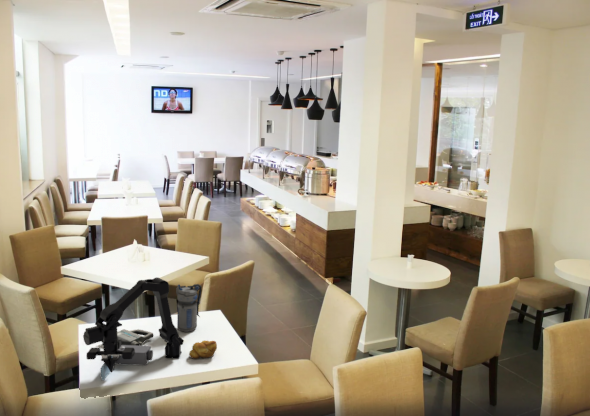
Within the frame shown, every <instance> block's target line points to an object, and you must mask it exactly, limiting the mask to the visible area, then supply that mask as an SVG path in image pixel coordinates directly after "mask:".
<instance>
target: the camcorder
mask: <svg viewBox="0 0 590 416" xmlns="http://www.w3.org/2000/svg"><path fill="white" fill-rule="evenodd" d="M117 337H118V339H122V341H121V345H137V346H143V344H144V343H145V342H146V341H148V340H150V339H153V338H154V333H153V332H151V331H147V330H143V329H139V328H138V329H133V330H127V329H125V328H123V329H121V330H118V331H117ZM100 342H101V343H103V340H102V341H100Z"/></svg>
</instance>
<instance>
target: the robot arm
mask: <svg viewBox="0 0 590 416" xmlns="http://www.w3.org/2000/svg"><path fill="white" fill-rule="evenodd" d="M145 291H147V292H152V293H153V295H154V296H155V298H156V300H157V301H156V302H157V307H158V312H159V317H160V320H161V327H160V328H159V329H158V332H159V337H160V338H161V339H163V341H164V342H165V343H166V344H165V346H164V355H165V356H164V358H165V359H180V357H181V355H182V350H181V349H182V345H184V342H185V340H184V339H183V338H182V337H180V334H179V332H178V328H176V326H175V325H174V323H173V318H172V314H171V308H170V303H169V298H168V297H169V292H170V284H169V282H168V281H167V280H164V279H163V278H160V277H154V278H148V279H139V280H137V282H136V283H135V284H134V285H133V286H132V287H131V288H130V289H129V290H128V291H126V293H124V294H123V295H122V296H121V297H120V298H119V299H118V300H117V301H116V302H114V303H111V304H108V305H107V306H105V308H103V309H102V310H101V311H100V315H99V316H98V318H97V320H96V321H95V323H94V325H95V326H92V327H87V328H85V331H84V332H83V336H82V337H83V342H84V343H85V345H86V346H90V345H93V344H96V343H100V342H101V341H102V340H103V342H102V346H103V350H101V348H100V347H91V348H90V349H89V350H88V351H87V352H86V360H95V359H96V358H97V356H101V359H100V361H101V362H103V364H104V363H105V364H106V365H107V367H108V368H109V370H110V373H113V371H114V368H115V366H116V364H115V362H116V361H118V359H119V358H120V356H121V355H122V358H123V359H132V357H133V356H134V354H135V349H134V348H125V349H124V351H121V350H118V349H120V346H121V341H122V339H118V337H117V332H118V328H119V327H122V326H123V323H121V322H119V320H120V319H121V318H122V316H123V314H124V312H125V311H126V309H128V307H129V306H130V305H132V304H133V303H134V302H135V301H136V300H137V299H139V297H141V295H143V293H145ZM104 322H105V323H104Z"/></svg>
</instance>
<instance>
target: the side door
mask: <svg viewBox="0 0 590 416" xmlns="http://www.w3.org/2000/svg"><path fill="white" fill-rule="evenodd" d="M115 365H117V364H116V362H115ZM110 373H111V372H110V370H109V368H108V367H107V365H106V364H105V363H104V362H103V364H102V365H101V367H100V378H101V381H105V379H106V378H107V376H108V375H109V374H110Z"/></svg>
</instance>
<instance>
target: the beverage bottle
mask: <svg viewBox="0 0 590 416" xmlns="http://www.w3.org/2000/svg"><path fill="white" fill-rule="evenodd" d="M175 294H176V297H177V301H178V302H177V321H176V322H177V323H176V324H177V330H179V331H180V332H184V333H186V332H187V333H189V332H192V331H195V330H196V329H197V327H198V317H199V318H201V316H200V315H199V309H200V308H199V306H200V305H199V304H200V300H201V296H202V285H201V284H199V283H197V284H196V283H195V284H193V285H187V287H186V285H182V286H181V285H180V284H177V286H176V288H175Z"/></svg>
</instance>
